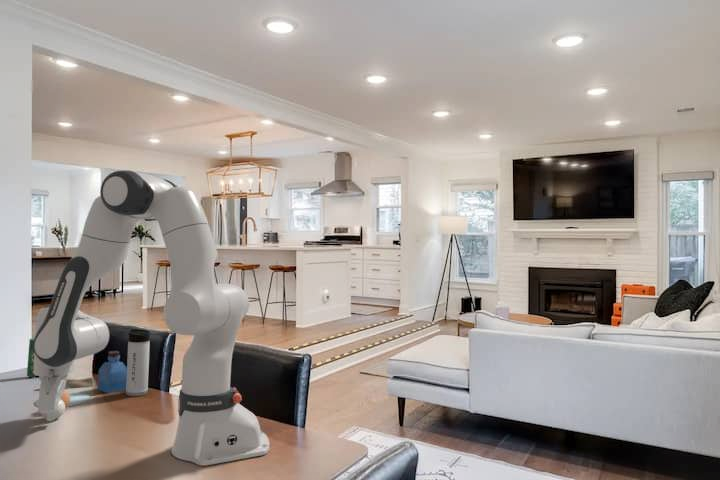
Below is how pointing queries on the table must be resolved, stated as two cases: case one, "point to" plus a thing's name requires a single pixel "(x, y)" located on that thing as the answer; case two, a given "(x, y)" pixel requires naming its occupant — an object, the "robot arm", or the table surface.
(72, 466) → the table surface
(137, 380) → the travel mug
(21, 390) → the table surface
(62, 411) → the cue ball
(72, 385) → the rail
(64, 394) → the object ball
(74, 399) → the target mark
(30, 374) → the coffee box
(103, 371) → the perfume bottle
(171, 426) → the table surface
